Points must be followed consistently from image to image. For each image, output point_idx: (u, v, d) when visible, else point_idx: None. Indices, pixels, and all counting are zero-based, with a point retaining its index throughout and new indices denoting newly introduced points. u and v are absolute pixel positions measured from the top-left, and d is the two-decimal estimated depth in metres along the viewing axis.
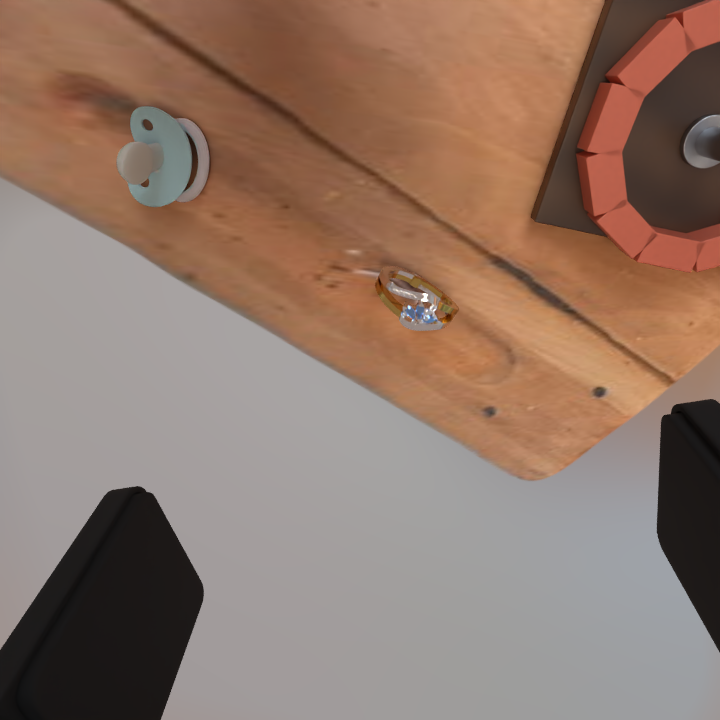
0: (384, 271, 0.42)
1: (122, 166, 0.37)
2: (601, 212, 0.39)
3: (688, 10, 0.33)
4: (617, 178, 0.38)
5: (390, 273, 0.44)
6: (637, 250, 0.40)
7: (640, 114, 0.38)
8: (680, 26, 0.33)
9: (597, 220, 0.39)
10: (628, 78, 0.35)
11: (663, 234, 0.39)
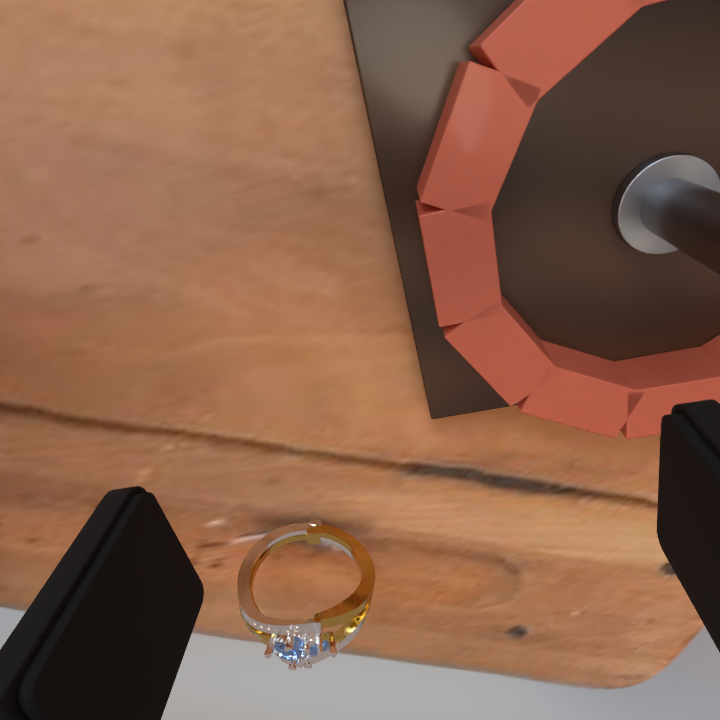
0: (243, 569, 0.27)
1: None
2: (520, 397, 0.21)
3: (489, 36, 0.15)
4: (518, 343, 0.20)
5: (263, 552, 0.29)
6: (617, 425, 0.22)
7: (514, 214, 0.20)
8: (489, 71, 0.16)
9: (520, 408, 0.22)
10: (442, 197, 0.18)
11: (652, 387, 0.21)
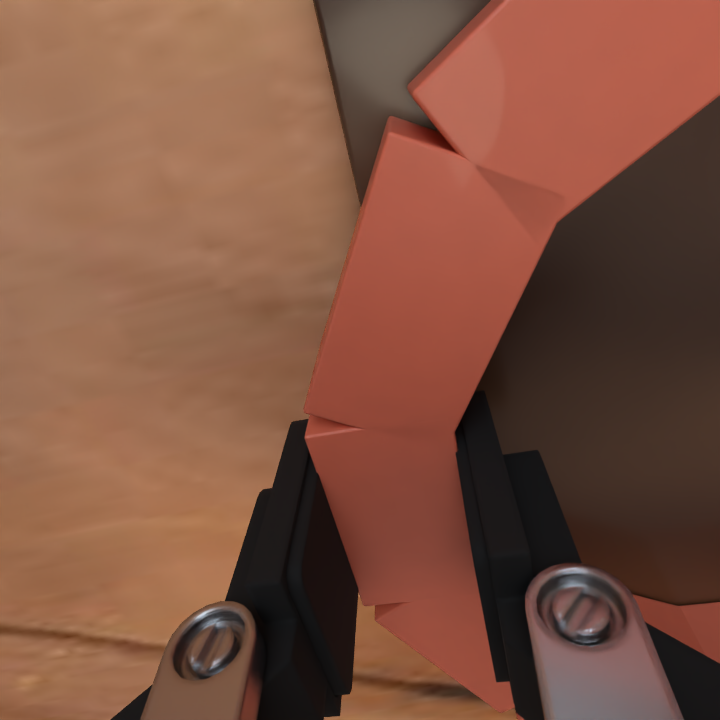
0: None
1: None
2: None
3: (436, 73, 0.06)
4: None
5: None
6: None
7: (643, 369, 0.10)
8: (440, 156, 0.06)
9: None
10: (348, 406, 0.08)
11: None
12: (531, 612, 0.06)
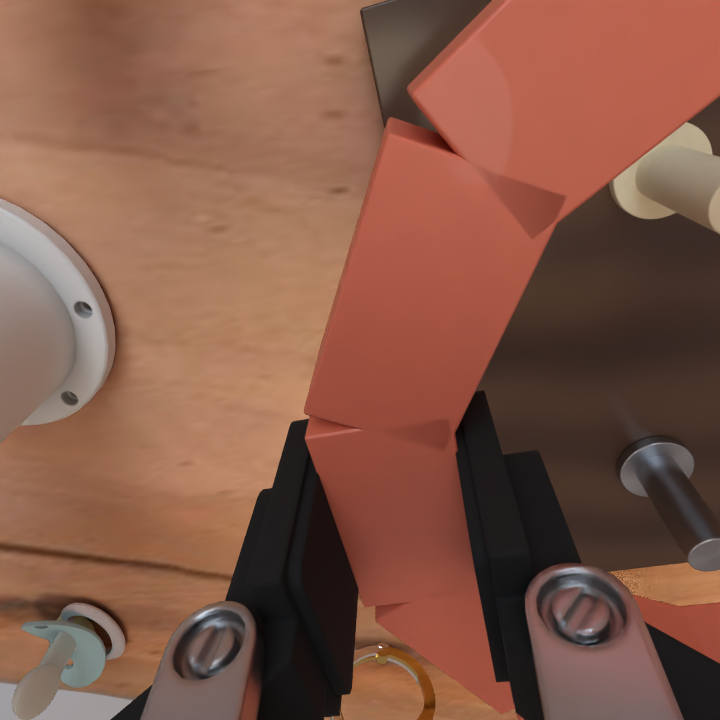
0: None
1: (18, 717, 0.34)
2: None
3: (436, 74, 0.06)
4: None
5: None
6: None
7: (546, 467, 0.28)
8: (439, 157, 0.06)
9: None
10: (349, 407, 0.08)
11: None
12: (531, 612, 0.06)
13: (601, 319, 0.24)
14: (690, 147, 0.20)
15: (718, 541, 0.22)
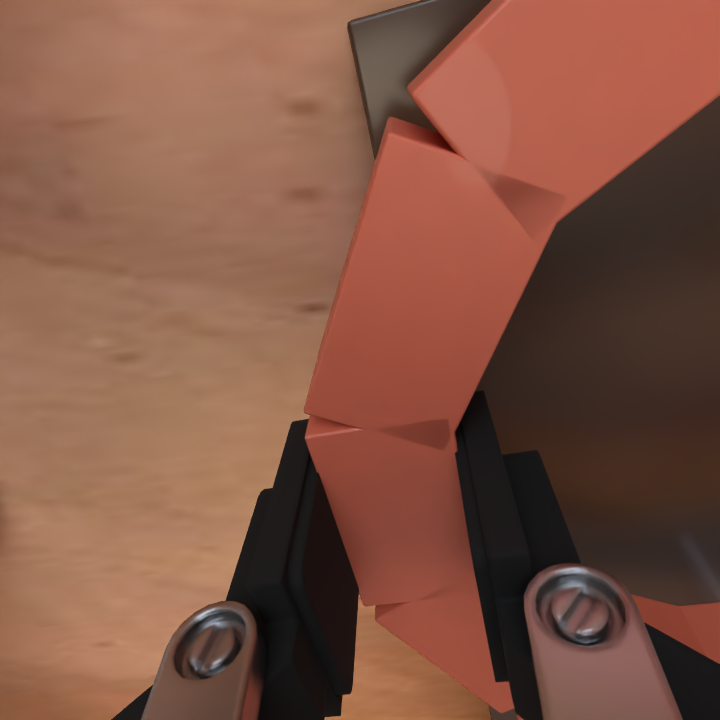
0: None
1: None
2: None
3: (436, 74, 0.06)
4: None
5: None
6: None
7: None
8: (439, 156, 0.06)
9: None
10: (348, 406, 0.08)
11: None
12: (530, 612, 0.06)
13: None
14: None
15: None
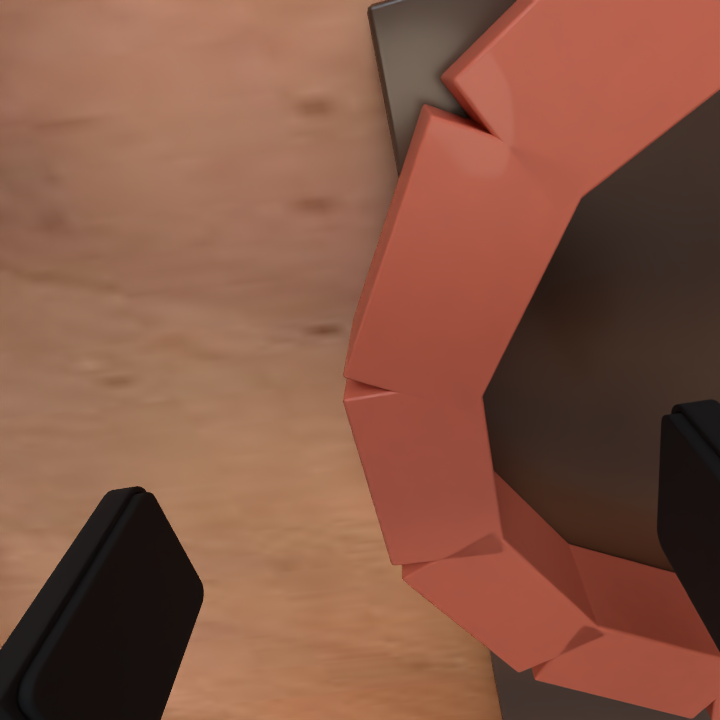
0: None
1: None
2: (534, 662, 0.13)
3: (475, 61, 0.07)
4: (531, 593, 0.11)
5: None
6: (698, 703, 0.13)
7: None
8: (476, 137, 0.07)
9: (534, 673, 0.13)
10: (385, 370, 0.09)
11: None
12: None
13: None
14: None
15: None
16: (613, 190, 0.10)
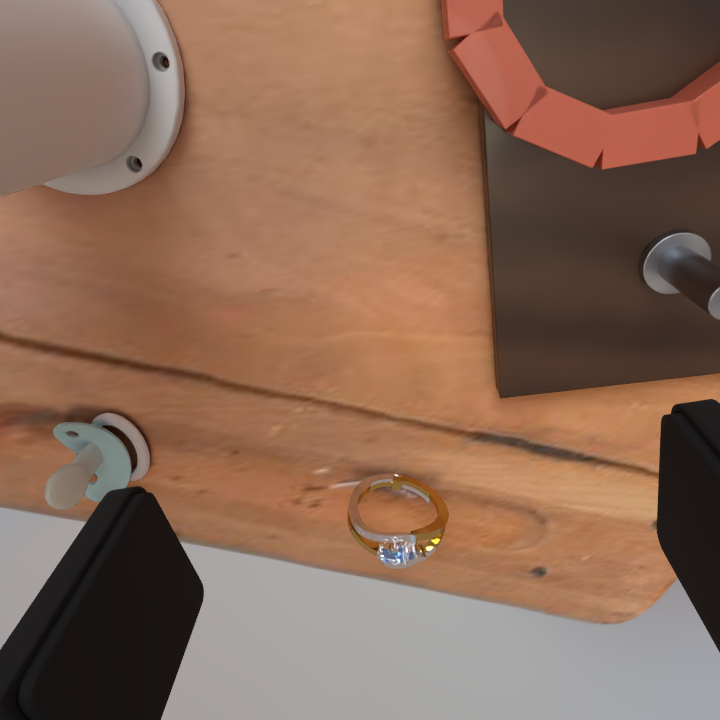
0: (352, 501, 0.37)
1: (50, 503, 0.35)
2: (513, 119, 0.25)
3: None
4: (514, 59, 0.24)
5: (363, 492, 0.39)
6: (595, 153, 0.25)
7: (575, 262, 0.30)
8: None
9: (513, 133, 0.25)
10: None
11: (626, 113, 0.25)
12: None
13: (642, 96, 0.26)
14: None
15: None
16: None
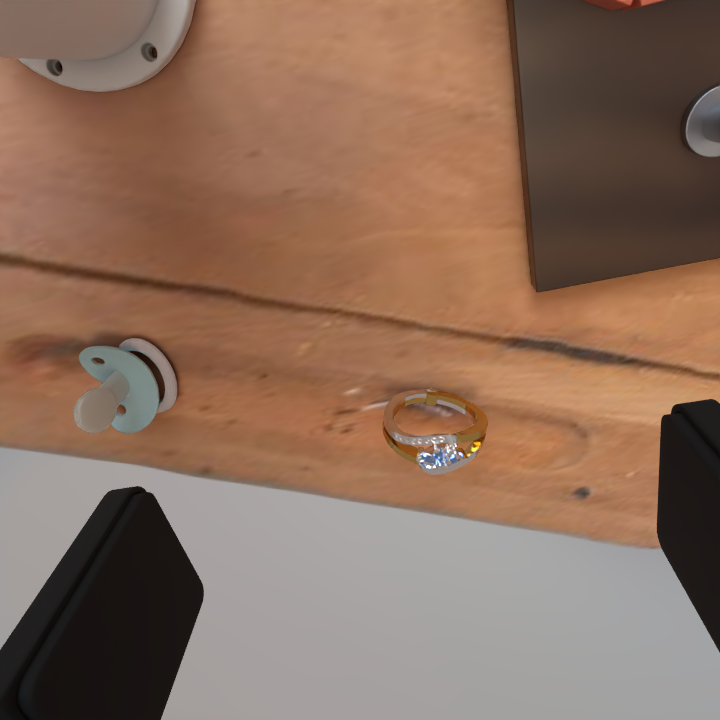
0: (387, 412, 0.36)
1: (80, 425, 0.35)
2: None
3: None
4: None
5: (397, 406, 0.37)
6: None
7: (612, 129, 0.29)
8: None
9: None
10: None
11: None
12: None
13: None
14: None
15: None
16: None
